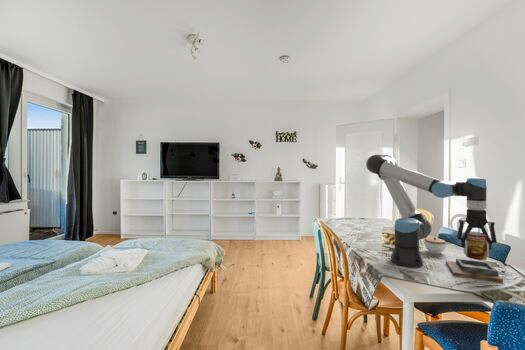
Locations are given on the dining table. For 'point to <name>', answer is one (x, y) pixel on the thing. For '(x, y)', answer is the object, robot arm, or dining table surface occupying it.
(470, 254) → the canned food
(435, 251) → the lidded jar
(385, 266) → the dining table surface
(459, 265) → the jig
